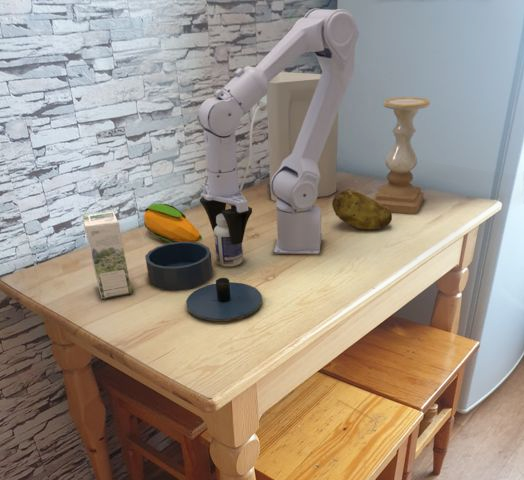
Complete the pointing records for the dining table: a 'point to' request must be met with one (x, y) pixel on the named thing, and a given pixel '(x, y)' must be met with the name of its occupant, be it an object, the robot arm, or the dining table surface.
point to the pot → (179, 265)
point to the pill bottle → (226, 245)
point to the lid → (224, 301)
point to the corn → (170, 224)
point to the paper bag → (297, 125)
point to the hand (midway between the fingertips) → (227, 237)
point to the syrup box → (107, 254)
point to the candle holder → (402, 159)
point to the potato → (361, 210)
